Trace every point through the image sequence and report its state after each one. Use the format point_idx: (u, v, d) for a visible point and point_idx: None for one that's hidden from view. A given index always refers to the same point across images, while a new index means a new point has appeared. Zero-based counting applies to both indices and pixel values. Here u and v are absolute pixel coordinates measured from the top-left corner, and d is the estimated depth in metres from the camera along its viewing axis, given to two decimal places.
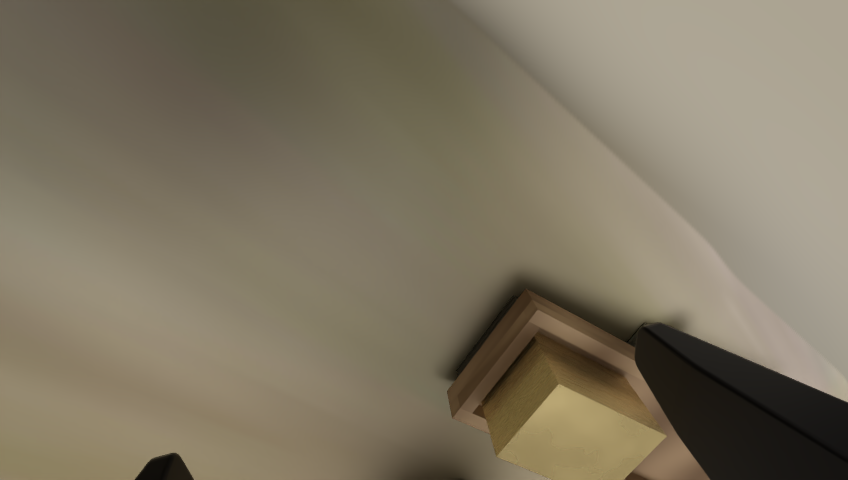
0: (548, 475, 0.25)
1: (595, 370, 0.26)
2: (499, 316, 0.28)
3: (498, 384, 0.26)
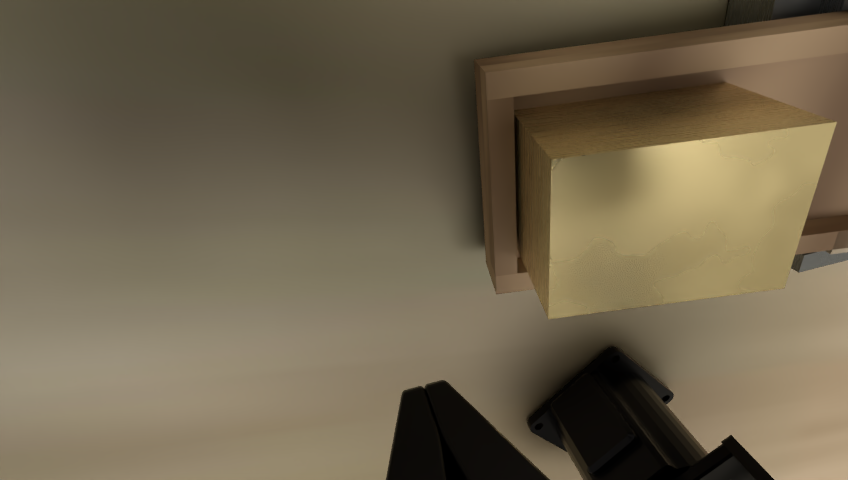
0: (656, 301, 0.14)
1: (653, 102, 0.15)
2: None
3: (519, 216, 0.17)
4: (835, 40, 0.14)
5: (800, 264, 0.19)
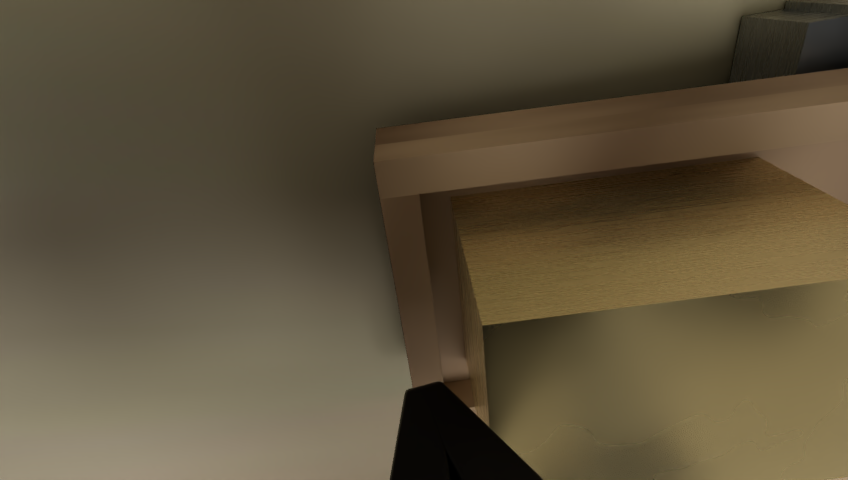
0: None
1: (653, 194, 0.10)
2: None
3: (466, 338, 0.12)
4: None
5: None
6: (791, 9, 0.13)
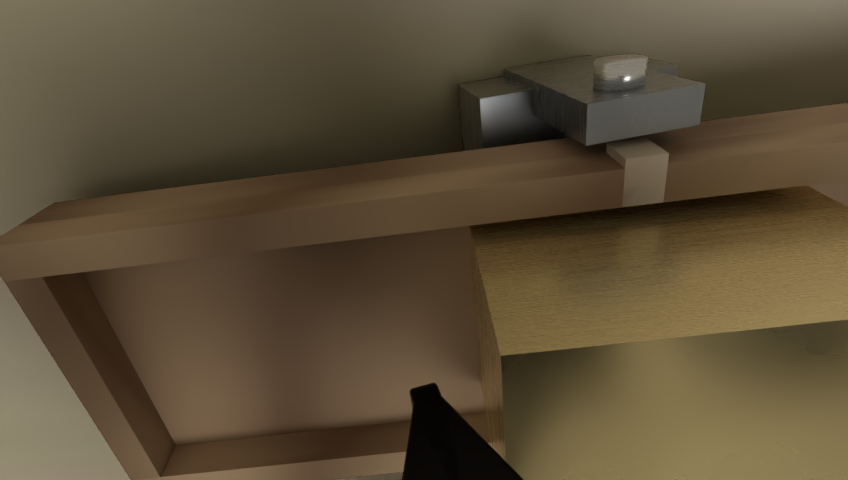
0: None
1: (681, 216, 0.10)
2: None
3: (481, 362, 0.11)
4: (506, 202, 0.09)
5: None
6: (508, 77, 0.13)
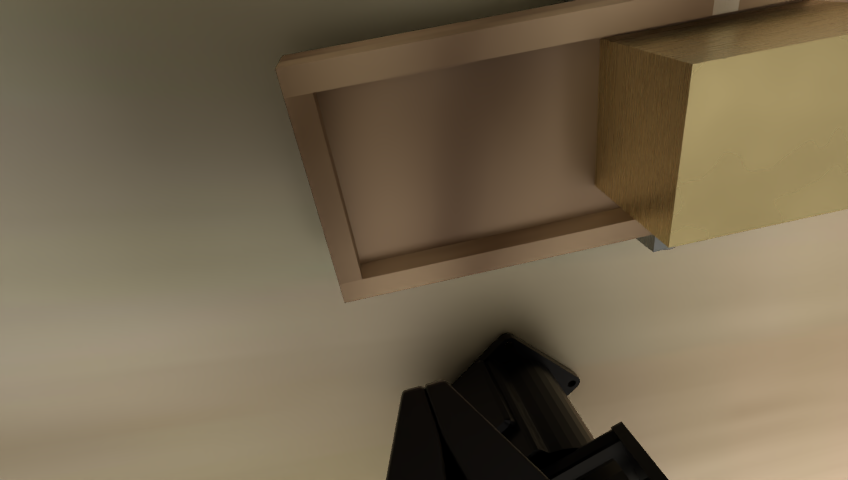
0: (774, 220, 0.14)
1: (751, 19, 0.14)
2: None
3: (610, 152, 0.16)
4: (640, 14, 0.14)
5: (654, 243, 0.19)
6: None
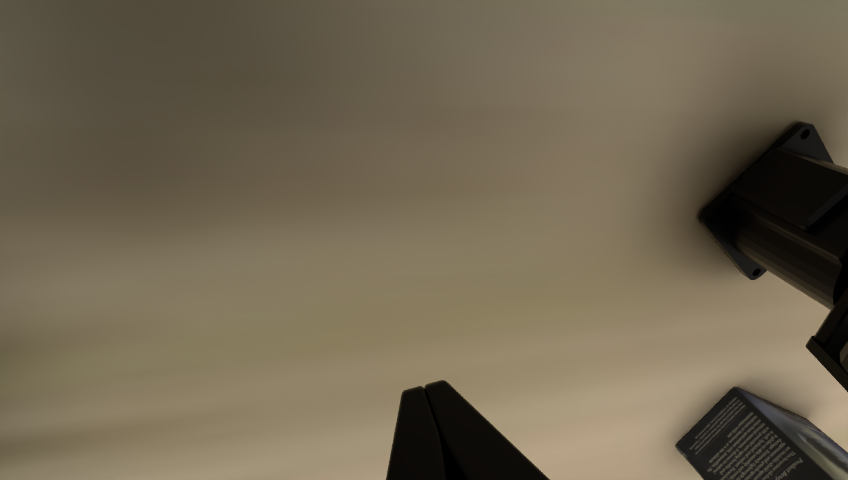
0: None
1: None
2: None
3: None
4: None
5: None
6: None
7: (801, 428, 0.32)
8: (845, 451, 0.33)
